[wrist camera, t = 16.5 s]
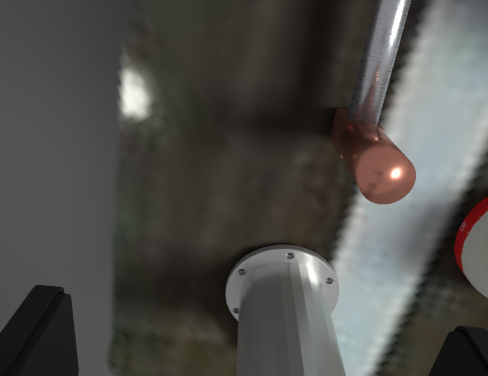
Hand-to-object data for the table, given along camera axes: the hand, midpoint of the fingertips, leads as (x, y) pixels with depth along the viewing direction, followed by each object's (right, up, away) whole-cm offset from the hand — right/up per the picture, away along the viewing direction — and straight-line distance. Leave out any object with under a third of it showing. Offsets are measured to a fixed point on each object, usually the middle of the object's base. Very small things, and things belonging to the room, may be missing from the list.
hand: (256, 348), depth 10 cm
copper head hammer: (+10, +16, +23) cm, 30 cm away
